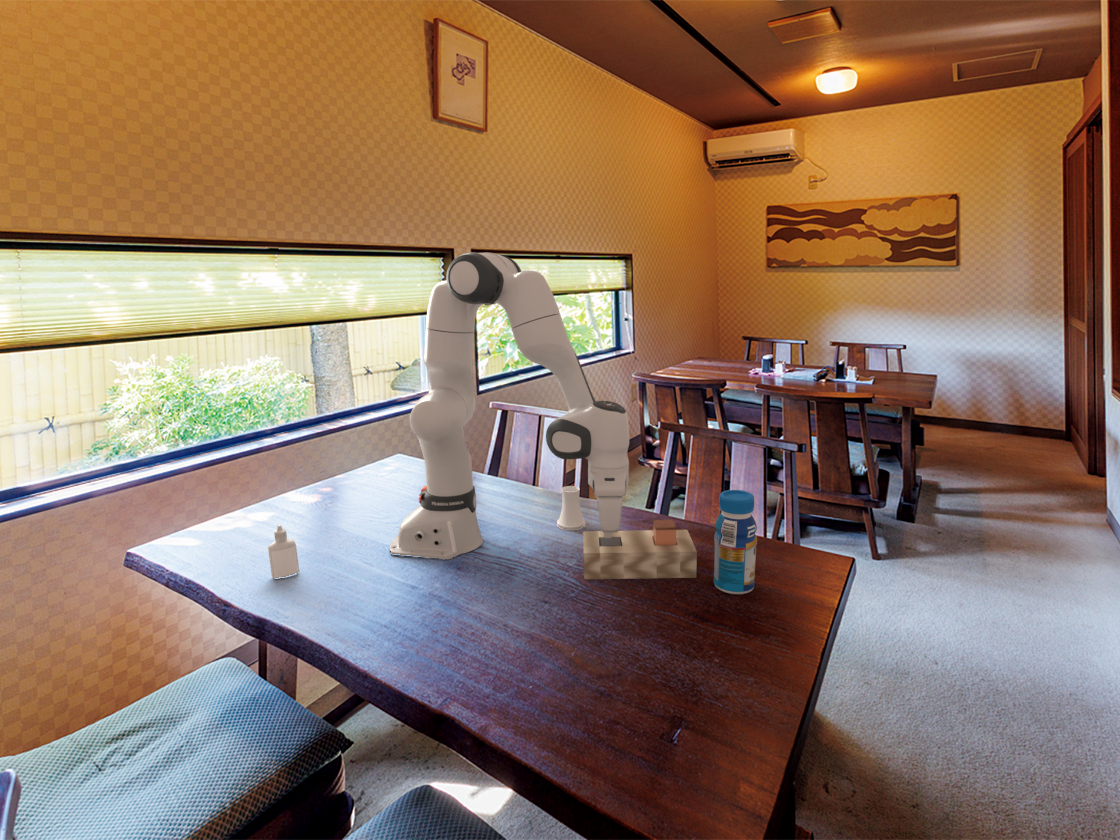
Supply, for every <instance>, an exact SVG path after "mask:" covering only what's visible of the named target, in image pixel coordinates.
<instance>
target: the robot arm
mask: <svg viewBox="0 0 1120 840" xmlns="http://www.w3.org/2000/svg"><path fill="white" fill-rule="evenodd" d="M445 278H446V280H442V281H439V282H437V283H436V284H435V285H434V286H433V287H432V290H431V293H430V296H429V300H428V301H429V302H428V304H427V305H428V306H427V312H426V317H425V318H426V319H425V332H424V333H425V334H424V351H423V353H424V355H423V362H424V365H425V367H426V371H427V377H428V383H429V385H428V386H429V389H428V392H427V394H425V395H424V396H423V395H422V397H420V398H419V399H418V400H417V402H416V403H415V404H414V406H413V407H412V409H411V411H410V415H409V426H410V428H411V430H412V432H413V433H414V435H415V436H416V437H417V439H418V441H419V446H420V449H421V453H422V455H423V456H422V457H423V461H424V469H425V479H426V481H425V482H426V485H424V486H423V487H422V489H420V493H419V495H418V496H419V497H418V503H419V505H418V506H417V507H416V508H414V510H412V511H411V512H410V513H408V515H407V516H406V517H404V519H403V520H402V521H401V523H400V526H399V530H398V535H396V536H395V537H394V538H393V539H392V541H391V543H390V546H389V552H390V551H391V553H392V554H400V555H411V556H420V557H429V558H428V559H431V558H439V559H438V560H445V559H447V560H451V559H453V557H454V558H456V557H457V556H459V555H462V554H467V553H469V552H472V551H474V550H476V549H478V548H479V547H481V545H483V543H484V539H483V536H482V533H481V531H480V527H479V522H478V517H477V512H476V511H477V492H476V487H475V486H474V481H473V480H474V479H473V467H472V466H473V463H472V456H471V455H472V454H470V452H469V450H468V447H467V444H466V443H467V442H466V439H465V435H464V426H465V425H466V424H468V423H469V422H470V421H471V420H472V418H473V416H474V415H475V414H474V413H475V410H476V405H477V401H476V400H477V399H476V397H475V388H474V387H475V385H474V384H475V383H474V375H473V358H474V357H473V355H474V341H475V340H474V339H475V328H476V327H475V326H476V316H477V312H478V310H479V309H480V308H481V307H482V306H483V305H484V306H491V305H495V304H498V305H499V306H501V307H502V308H503V309H504V311H505V313H506V315H507V318H508V321H509V324H510V328H511V331H512V334H513V338H514V341H515V343H516V346H517V348H518V350H519V351H520V353H521V355H522V356H523V357H524V358H525V359H527V360H528V361H529V362H532V363H534V364H537V365H538V366H539V365H540V366H542V367H544V369H547V370H549V371H550V372H551V373H552V374H553V375H554V376H555V379H556V380H557V382H558V385H559V388H560V390H561V392H562V395H563V397H564V400H565V402H566V405H567V409H568V411H567V413H566V414H564V415H562V416H560V417H558V418H555V420H553V421H551V423H550V424H549V425H548V426H547V429H546V431H545V441H546V445H547V447H548V450H549V451H550V453H552V454H553V455H554V456H555V457H557V458H558V459H561V460H579V459H586V460H587V465H588V466H587V484H588V485H589V486H590V487H591V489H592V491H593V494H594V497H596V502H597V506H598V507H597V509H598V516H599V517H598V518H599V524H600V526H599V527H600V531H602V532H604V537H605V538H612V533H613V532H618V531H620V526H621V517H622V509H623V497H625V496H626V494H627V488H628V485H629V483H630V482H629V481H630V478H629V477H630V460H629V457H628V450H629V446H630V423H629V416H628V412H627V410H626V409H625V407H624V406H623V405H621V404H619V403H616V402H613V401H609V400H596V399H595V397H594V395H593V393H592V391H591V388H590V385H589V382H588V380H587V377H586V375H585V372H584V369H583V366H582V364H581V362H580V360H579V357H578V356H577V353H576V351H575V350H574V348H573V345H572V343H571V341H570V338H569V336H568V334H567V331H566V328H565V325H564V322H563V319H562V317H561V313H560V312H561V311H560V309H559V306H558V303H557V301H556V299H555V296H554V293H553V291H552V290H551V289H552V288H551V287H550V285H549V283H548V281H547V280H546V278H545V276H544V275H543V274H542V273H540V272H538V271H536V270H528V269H527V270H522V269H521V267H520V265H519V264H518V263H517V262H516V261H515V260H514V259H512V258H511V257H509V256H507V255H503V254H498V253H493V252H488V251H487V252H466V253H462V254H460V255H458V256H456V257H455V258H454V259H453V260H452V261H451V262H450V263H449V266H448V267H447V271H446V277H445ZM393 548H394V549H393ZM391 553H390V554H391Z"/></svg>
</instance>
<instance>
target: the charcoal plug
mask: <svg viewBox="0 0 1120 840" xmlns="http://www.w3.org/2000/svg"><path fill="white" fill-rule="evenodd" d="M600 546H621V542H620V537H618V538H600Z"/></svg>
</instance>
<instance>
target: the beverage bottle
mask: <svg viewBox="0 0 1120 840" xmlns="http://www.w3.org/2000/svg"><path fill="white" fill-rule="evenodd" d="M718 504H719V505H718V507H719V510H720V511H721V512H720V514H719V515H718V517H717V518H716V519H715V524H714V527H715V529H716V530H715V532H714V535H713V541H714V563H713V565H714V567H713V568H714V570H713V572H714V573H713V583H714V586H715V588H716V589H718V590H719V591H721V592H723V593H726V594H730V595H744V594H748V593H750V592H752V591H753V590H754V588H755V582H756V581H755V574H756V554H757V545H758V536H757V535H756V532H757V530H758V526H757V522H756V520H755V518H754V516H753V512H754V509H755V496H754V494H753V493H751V492H749V491H746V490H742V489H741V490H740V489H728V490H724V491H722V492H720V494H719V503H718Z"/></svg>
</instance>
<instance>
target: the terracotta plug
mask: <svg viewBox="0 0 1120 840" xmlns="http://www.w3.org/2000/svg"><path fill="white" fill-rule="evenodd" d="M653 530H654V532H653V541H654V545H676V530H677V525H676V523H675V520H674V519H653Z"/></svg>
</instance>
